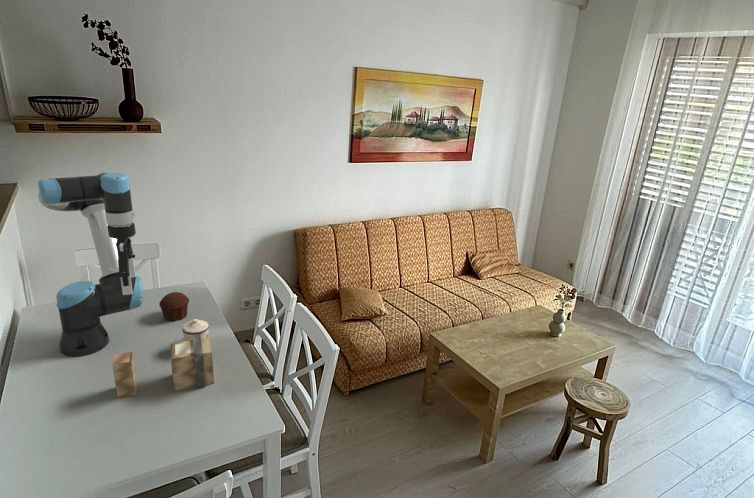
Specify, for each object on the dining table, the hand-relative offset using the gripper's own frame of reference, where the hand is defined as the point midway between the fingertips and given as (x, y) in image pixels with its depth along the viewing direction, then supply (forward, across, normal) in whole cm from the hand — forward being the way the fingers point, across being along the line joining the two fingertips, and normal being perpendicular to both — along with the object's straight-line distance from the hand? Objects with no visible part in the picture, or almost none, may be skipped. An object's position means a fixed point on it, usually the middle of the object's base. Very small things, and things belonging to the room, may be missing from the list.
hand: (129, 285), depth 149 cm
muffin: (+29, +29, -12) cm, 43 cm away
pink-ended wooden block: (+29, -17, +3) cm, 33 cm away
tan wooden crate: (+29, -17, -17) cm, 37 cm away
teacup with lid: (+29, +4, -19) cm, 35 cm away
